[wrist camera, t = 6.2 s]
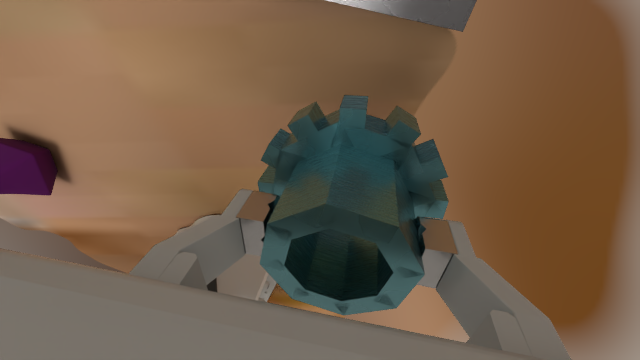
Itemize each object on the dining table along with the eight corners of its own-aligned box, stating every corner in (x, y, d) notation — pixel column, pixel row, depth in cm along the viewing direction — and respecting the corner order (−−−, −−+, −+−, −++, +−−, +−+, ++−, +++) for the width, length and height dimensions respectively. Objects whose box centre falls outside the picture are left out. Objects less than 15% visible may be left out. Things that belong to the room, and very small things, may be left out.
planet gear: (321, 252, 16) (300, 342, 11) (237, 143, 12) (168, 214, 8) (463, 216, 12) (505, 323, 8) (400, 56, 9) (418, 101, 5)
